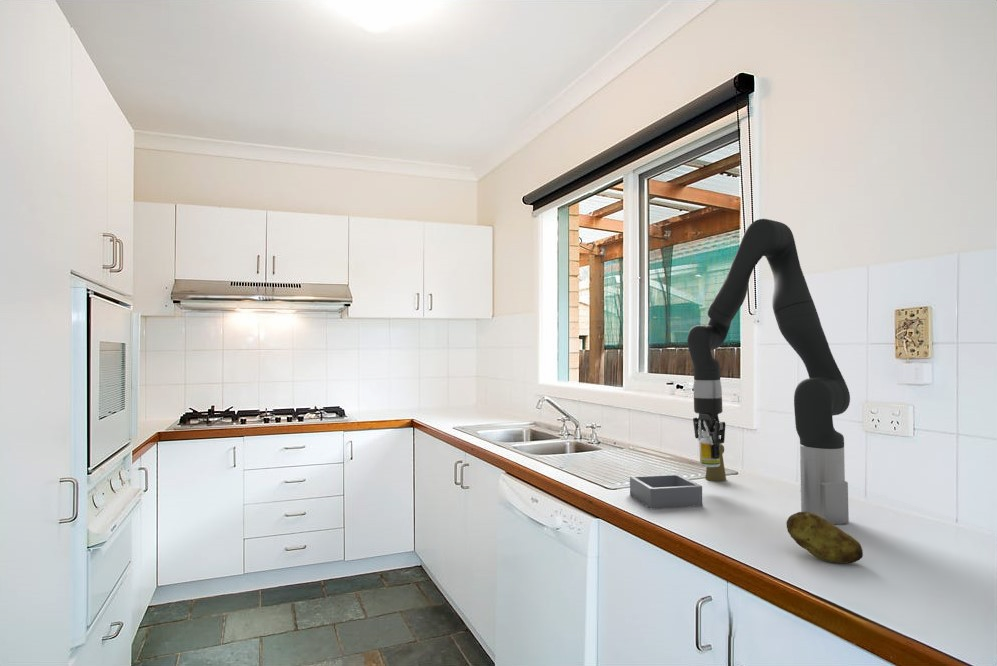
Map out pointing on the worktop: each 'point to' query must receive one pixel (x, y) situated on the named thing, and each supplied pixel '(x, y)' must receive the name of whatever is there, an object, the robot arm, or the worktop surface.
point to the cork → (717, 470)
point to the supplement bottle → (707, 452)
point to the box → (666, 491)
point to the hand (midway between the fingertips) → (709, 456)
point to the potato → (823, 538)
